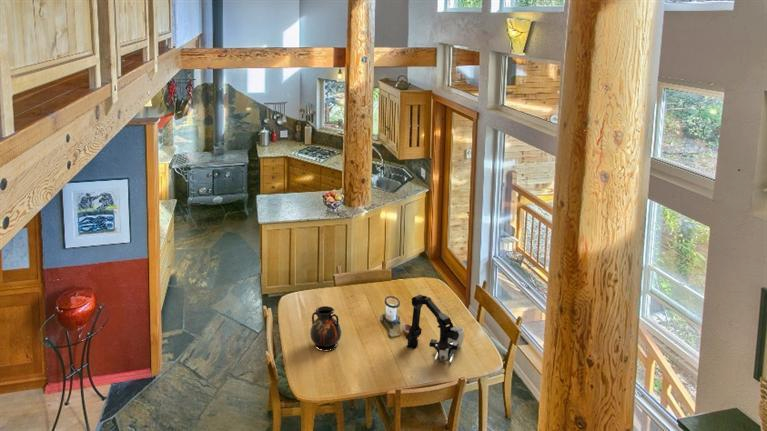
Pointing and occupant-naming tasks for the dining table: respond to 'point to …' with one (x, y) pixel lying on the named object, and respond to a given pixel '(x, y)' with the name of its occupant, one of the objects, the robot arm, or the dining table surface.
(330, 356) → the dining table surface
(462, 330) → the mug
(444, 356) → the light bulb
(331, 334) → the amphora vase
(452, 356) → the u-shaped channel
